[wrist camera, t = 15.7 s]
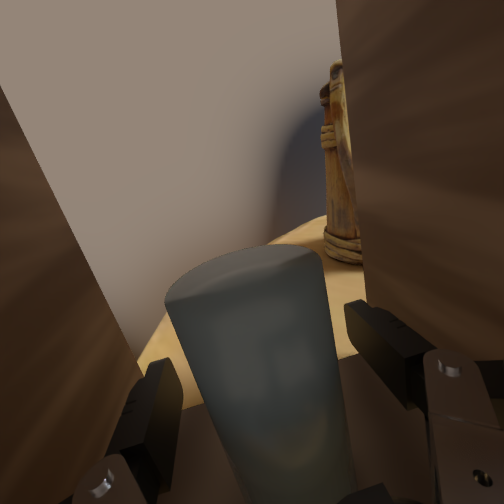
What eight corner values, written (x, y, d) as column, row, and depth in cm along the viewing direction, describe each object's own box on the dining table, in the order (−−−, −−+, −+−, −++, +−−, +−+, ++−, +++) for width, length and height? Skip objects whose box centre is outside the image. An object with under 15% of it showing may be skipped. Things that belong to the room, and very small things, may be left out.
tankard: (446, 223, 43) (449, 55, 35) (456, 292, 25) (466, -10, 17) (341, 229, 53) (324, 102, 46) (297, 281, 36) (258, 90, 28)
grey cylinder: (306, 410, 16) (266, 237, 12) (386, 500, 11) (361, 260, 7) (231, 469, 14) (154, 281, 10) (290, 611, 9) (186, 355, 5)
